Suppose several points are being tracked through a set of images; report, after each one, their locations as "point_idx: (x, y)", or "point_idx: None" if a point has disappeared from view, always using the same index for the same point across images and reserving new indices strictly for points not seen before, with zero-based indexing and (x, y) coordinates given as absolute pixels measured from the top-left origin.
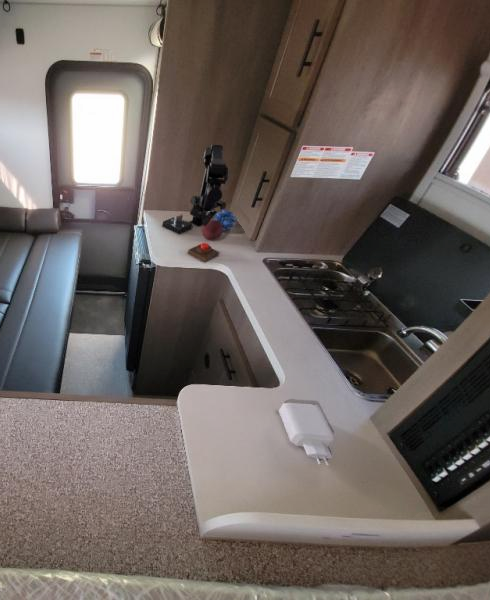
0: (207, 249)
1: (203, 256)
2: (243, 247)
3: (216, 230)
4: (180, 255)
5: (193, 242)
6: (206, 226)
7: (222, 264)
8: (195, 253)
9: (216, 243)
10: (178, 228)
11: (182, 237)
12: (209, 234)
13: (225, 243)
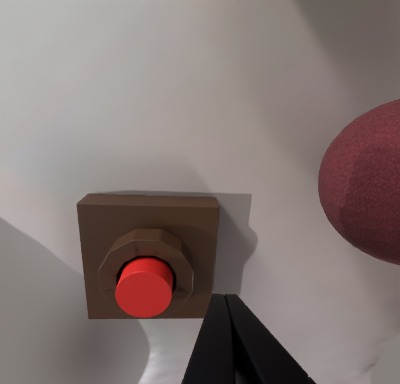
0: None
1: (93, 302)
2: (375, 320)
3: (378, 255)
4: (32, 179)
5: (237, 125)
6: (384, 173)
7: (156, 349)
8: (82, 255)
9: (326, 222)
10: None
11: (243, 15)
12: (327, 208)
13: (359, 251)
